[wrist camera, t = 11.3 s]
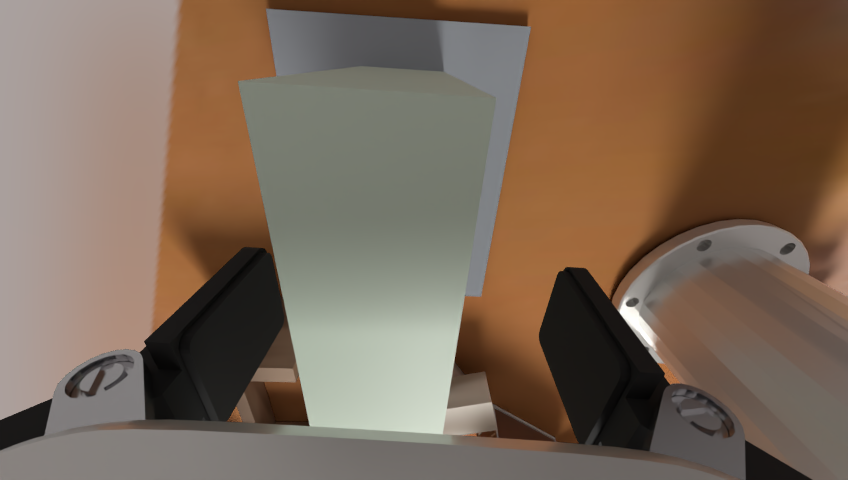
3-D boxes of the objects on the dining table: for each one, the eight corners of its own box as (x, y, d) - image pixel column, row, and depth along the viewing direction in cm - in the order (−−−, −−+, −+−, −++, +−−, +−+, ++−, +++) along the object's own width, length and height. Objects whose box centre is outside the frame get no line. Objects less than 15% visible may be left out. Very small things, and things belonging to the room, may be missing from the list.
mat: (527, 27, 15) (530, 26, 15) (479, 292, 23) (480, 296, 22) (270, 10, 14) (266, 8, 14) (312, 286, 22) (310, 290, 22)
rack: (321, 298, 23) (292, 368, 18) (339, 429, 31) (323, 503, 26) (223, 295, 23) (165, 365, 18) (267, 428, 31) (237, 502, 26)
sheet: (443, 71, 15) (496, 98, 5) (427, 272, 21) (436, 474, 11) (361, 66, 15) (237, 81, 5) (368, 269, 21) (319, 473, 11)
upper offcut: (380, 388, 25) (377, 420, 23) (485, 371, 24) (491, 402, 22) (393, 414, 27) (391, 445, 25) (490, 399, 26) (497, 429, 24)
